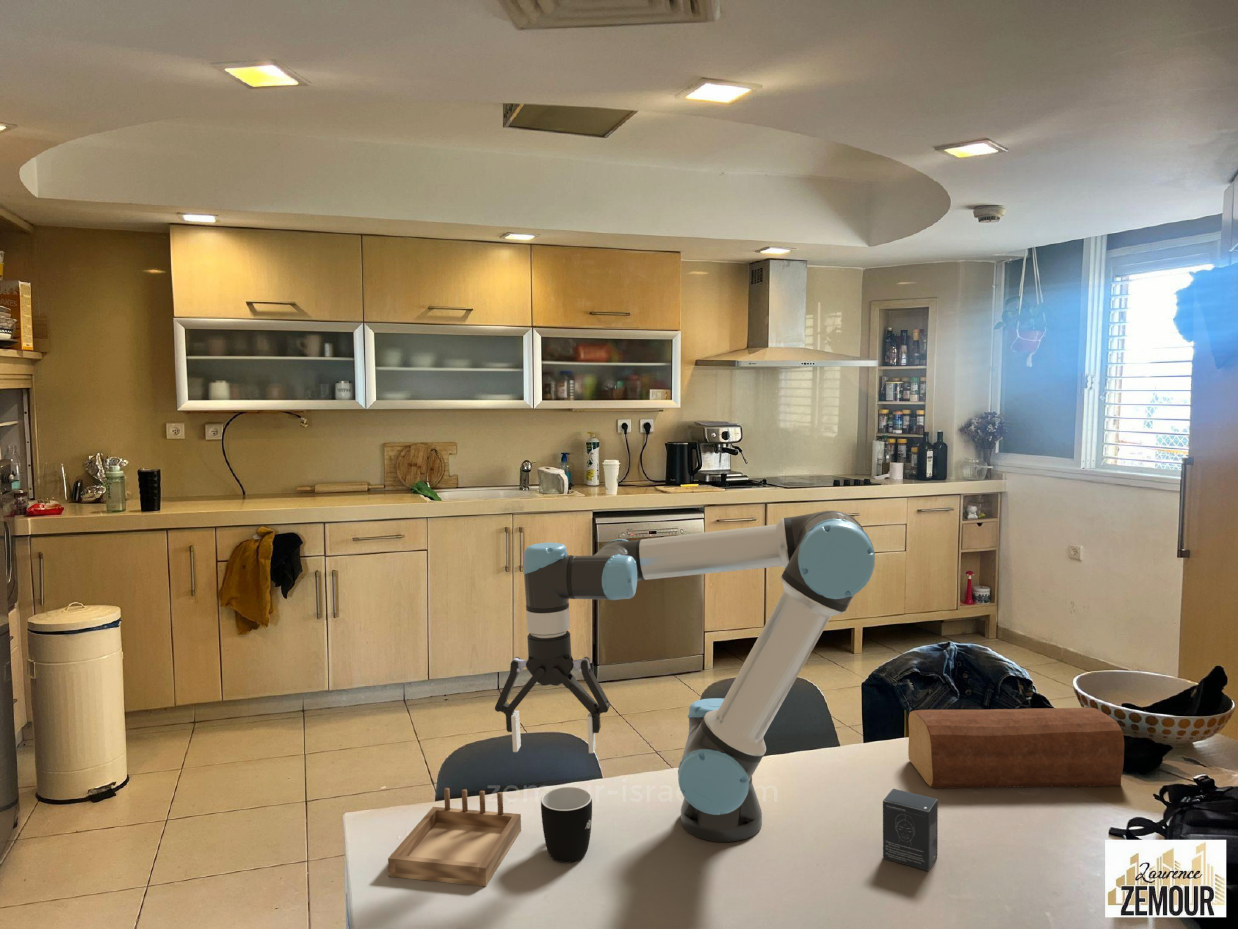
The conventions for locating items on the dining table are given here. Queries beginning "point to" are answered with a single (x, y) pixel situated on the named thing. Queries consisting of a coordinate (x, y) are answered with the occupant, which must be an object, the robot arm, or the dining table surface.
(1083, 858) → the dining table surface
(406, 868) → the rack
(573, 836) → the mug
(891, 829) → the box
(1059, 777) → the bread
